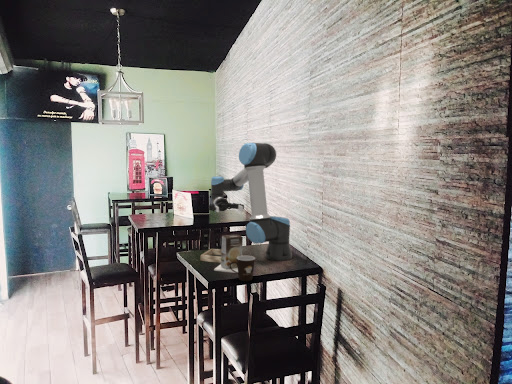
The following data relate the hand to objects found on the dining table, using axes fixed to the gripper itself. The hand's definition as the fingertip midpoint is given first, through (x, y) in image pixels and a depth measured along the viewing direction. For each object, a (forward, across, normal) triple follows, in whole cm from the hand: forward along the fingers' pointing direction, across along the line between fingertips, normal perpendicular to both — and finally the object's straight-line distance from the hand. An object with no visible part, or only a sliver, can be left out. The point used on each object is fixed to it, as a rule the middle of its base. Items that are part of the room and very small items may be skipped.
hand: (230, 209), depth 208 cm
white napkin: (+15, +3, -28) cm, 32 cm away
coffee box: (+15, +3, -27) cm, 31 cm away
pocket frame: (-4, +5, -28) cm, 29 cm away
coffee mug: (+32, +2, -28) cm, 42 cm away
